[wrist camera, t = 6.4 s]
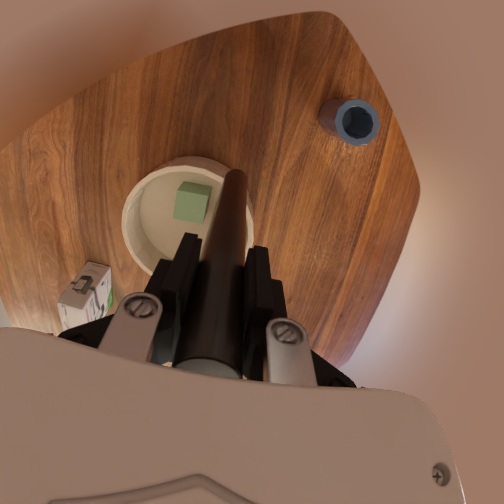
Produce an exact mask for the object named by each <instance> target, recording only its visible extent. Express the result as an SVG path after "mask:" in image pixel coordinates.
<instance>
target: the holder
mask: <svg viewBox="0 0 504 504" xmlns="http://www.w3.org/2000/svg"><path fill="white" fill-rule="evenodd" d="M319 121H320V124H321V126H322V128H323V129H324V130H325V131H326V132H327V133H328V134H330V135H332V136H334V137H336V138H338V139H340V140H342V141H344V142H346V143H349V144H352V145H355V146H360V145H365V144H369V143H370V142H371V141H372V140H373V139H374V138H375V137H376V136H377V133H378V130H379V126H380V123H379V118H378V113H377V112H376V110H375V109H374V108H373V107H372V105H371V104H369V103H368V102H365V101H363V100H360V99H343V98H338V99H332V100H329V101H327V102H326V103H325V104H324V105H323V106H322V107H321V109H320V112H319Z"/></svg>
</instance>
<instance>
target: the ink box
mask: <svg viewBox="0 0 504 504" xmlns="http://www.w3.org/2000/svg"><path fill="white" fill-rule="evenodd" d="M112 303H113V301H112V287H111V268H110V267H109V266H105V265H102V264H97V263H93V262H87V264H86V265H85V266H84V267H83V269H82V270H81V271H80V272H79V274H78V275H77V276H76V277H75V279H74V280H73V281H72V282H71V284H70V285H69V286H68V288H67V289H66V290H65V292H64V293H63V294H62V295H61V297H60V298H59V299H58V301H57V306H58V310H59V315H60V320H61V324H62V328H63V331H65V330H67V329H70V328H73V327H76V326H79V325H82V324H85V323H88V322H91V321H94V320H97V319H100V318H103V317H105V315H106V313H107V311H108V310H109V308H110V306H111V304H112Z"/></svg>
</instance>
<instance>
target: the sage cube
mask: <svg viewBox="0 0 504 504" xmlns="http://www.w3.org/2000/svg"><path fill="white" fill-rule="evenodd" d="M211 189H212V187H211V186H206V185H201V184H196V183H191V182H185V181H183V183H182V184H181V185H180V186H179V188H178V189H177V192H176V199H175V206H174V214H173V219H178V220H183V221H187V222H192V223H197V224H203V222H204V219H205V217H206V214H207V209H208V204H209V199H210V194H211Z"/></svg>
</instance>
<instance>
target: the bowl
mask: <svg viewBox="0 0 504 504" xmlns="http://www.w3.org/2000/svg"><path fill="white" fill-rule="evenodd" d="M229 171H230V169H229V168H228V167H226V166H225V165H223V164H221V163H219V162H217V161H215V160H212V159H209V158H205V157H199V156H184V157H178V158H175V159H172V160H169V161H167V162H165V163H162V164H161V165H160V166H158V167H157V168H156V169H154V170H153V171H152V172H150V173H149V174H148V175H147V176H145V177H144V178H143V179H142V180H140V181H139V182H138V183H137V184H136V185H135V187H134V188H133V189H132V191H131V192H130V194H129V195H128V197H127V199H126V202H125V205H124V208H123V211H122V232H123V237H124V241H125V244H126V246H127V248H128V250H129V252H130V254H131V256H132V257H133V259H134V260H135V261H136V262H137V263H138V265H139V266H140V267H141V268H142V269H143V270H144V271H145V272H147V273H148V274H150V275H151V276H152V274H153V272H154V270H155V268H156V266H157V264H158V262H159V260H160V259H161V258H163V259H168V260H173V258H174V256H175V254H176V251H177V249H178V247H179V245H180V242H181V240H182V238H183V236H184V233H185V232H188V233H193V234H198V238H201V239H202V246H201V252H202V249H203V245H204V242H205V239H206V235H207V232H208V229H209V225H210V222H211V219H212V214H213V210H214V207H215V204H216V202H217V199H218V196H219V193H220V190H221V187H222V184H223V180H224V177H225V175H226V174H227V172H229ZM183 181H185V182H191V183H196V184H201V185H206V186H211V187H212V189H211V194H210V199H209V204H208V209H207V214H206V217H205V219H204V222H203V224H197V223H192V222H187V221H183V220H178V219H173V214H174V206H175V199H176V192H177V189H178V188H179V186H180V185H181V184H182V183H183ZM253 240H254V225H253V205H252V202H251V198H250V195H249V193H248V190H247V206H246V243H245V261H246V257H247V253H248V249H249V248H251V247H252V244H253ZM201 252H200V256H201Z"/></svg>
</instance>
